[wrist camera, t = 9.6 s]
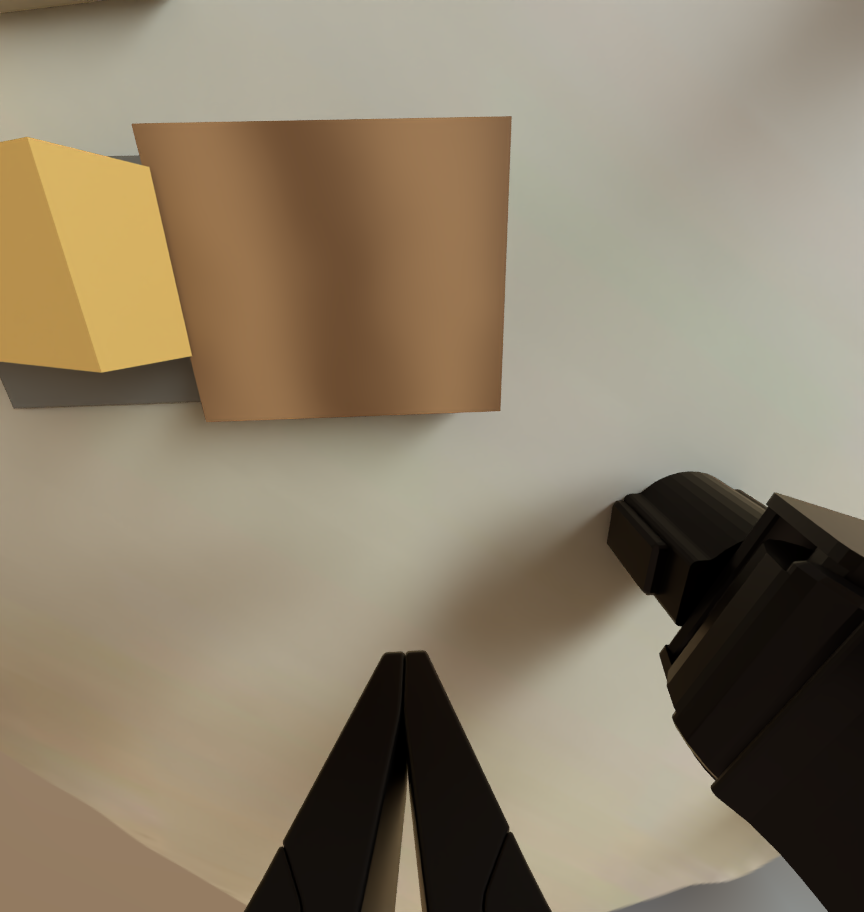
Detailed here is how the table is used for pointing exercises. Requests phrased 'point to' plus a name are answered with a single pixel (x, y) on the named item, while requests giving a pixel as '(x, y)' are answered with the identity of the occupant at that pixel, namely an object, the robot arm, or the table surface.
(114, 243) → the yellow block
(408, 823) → the table surface
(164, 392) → the mat
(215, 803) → the table surface
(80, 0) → the beige tile
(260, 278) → the block
